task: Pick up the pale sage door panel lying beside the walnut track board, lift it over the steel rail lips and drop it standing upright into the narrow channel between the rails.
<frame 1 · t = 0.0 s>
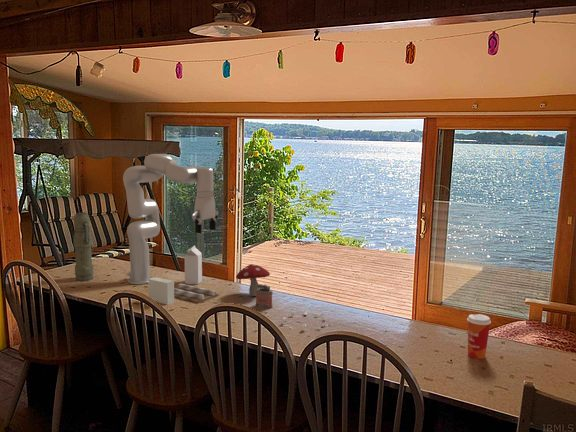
hand: (205, 231, 232), 31 cm above the table, tool pointing down, fingers open, 9 cm apart
decorative mushroom: (253, 295, 239), on the table
track board: (191, 295, 237), on the table
paper cup: (476, 356, 173), on the table
game piece set: (304, 323, 203), on the table
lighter: (263, 307, 222), on the table
moai statue: (84, 279, 263), on the table
milk carton: (193, 283, 259), on the table
door panel: (161, 301, 228), on the table
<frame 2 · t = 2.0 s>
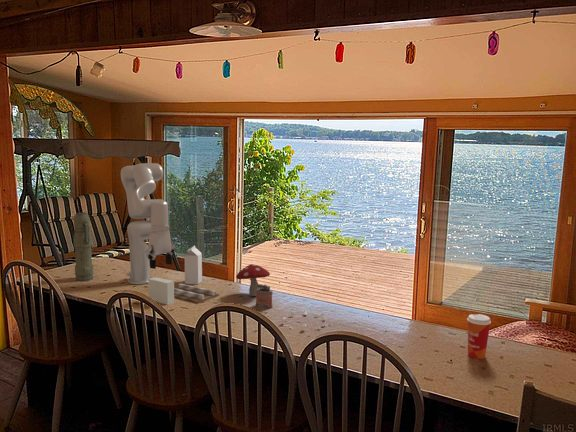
hand: (161, 266, 225), 16 cm above the table, tool pointing down, fingers open, 9 cm apart
nothing on the table moved.
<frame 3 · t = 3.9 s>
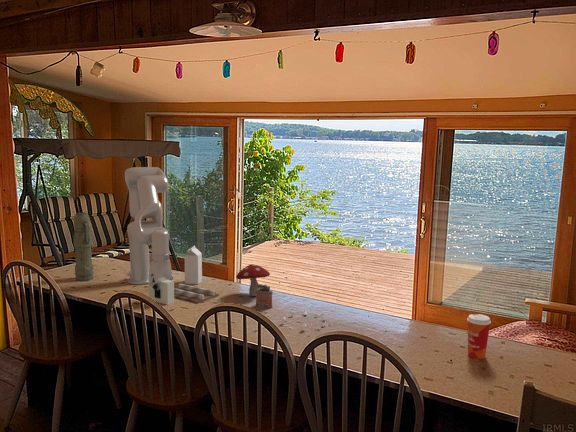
hand: (161, 296, 228), 2 cm above the table, tool pointing down, fingers closed on door panel, 4 cm apart
door panel: (161, 301, 228), on the table, touching gripper
everything else where it was.
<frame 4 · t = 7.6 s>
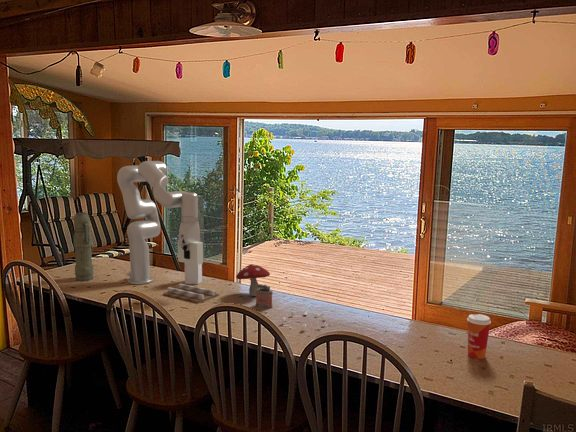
hand: (190, 257, 234), 18 cm above the table, tool pointing down, fingers closed on door panel, 4 cm apart
door panel: (190, 262, 235), point 16 cm above the table, touching gripper
everything else where it was.
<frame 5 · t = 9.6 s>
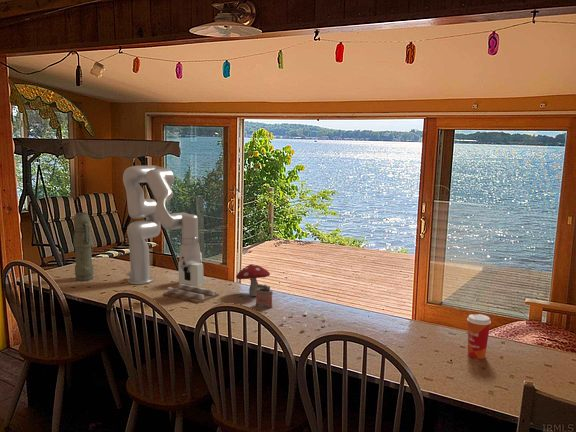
hand: (190, 278, 236), 8 cm above the table, tool pointing down, fingers closed on door panel, 4 cm apart
door panel: (191, 283, 236), point 6 cm above the table, touching gripper
everything else where it was.
when the fingers open (5 cm above the table, at t = 11.4 s): door panel drops 1 cm, resting on track board.
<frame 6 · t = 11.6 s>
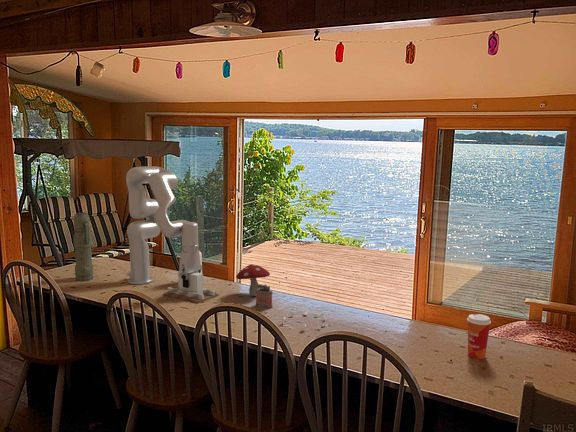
hand: (190, 285, 236), 5 cm above the table, tool pointing down, fingers open, 6 cm apart
door panel: (190, 293, 237), point 1 cm above the table, touching track board
everything else where it was.
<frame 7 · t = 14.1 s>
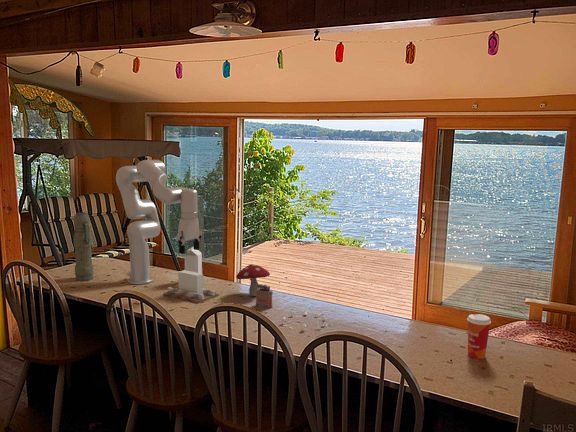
hand: (189, 251, 235), 21 cm above the table, tool pointing down, fingers open, 9 cm apart
nothing on the table moved.
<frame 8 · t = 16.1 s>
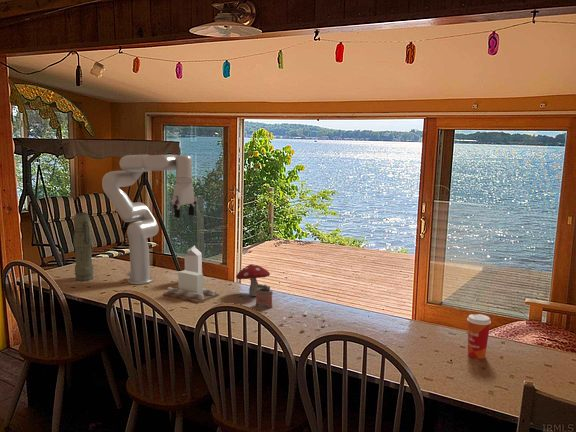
hand: (184, 216, 243), 36 cm above the table, tool pointing down, fingers open, 9 cm apart
nothing on the table moved.
at the end: door panel inside the target area on the track board (0.0 cm from its centre), point 1.0 cm above the track board's base; door panel tilted 0°; the gripper is holding nothing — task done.
